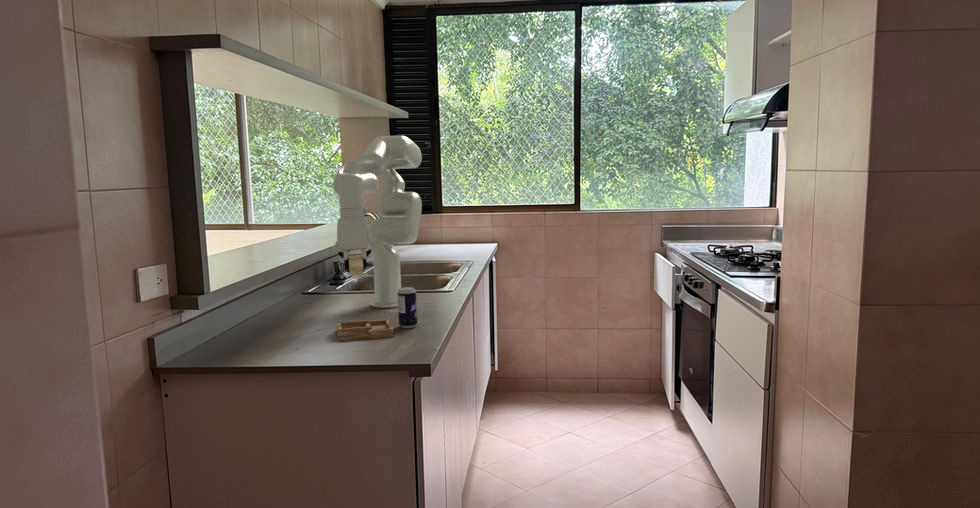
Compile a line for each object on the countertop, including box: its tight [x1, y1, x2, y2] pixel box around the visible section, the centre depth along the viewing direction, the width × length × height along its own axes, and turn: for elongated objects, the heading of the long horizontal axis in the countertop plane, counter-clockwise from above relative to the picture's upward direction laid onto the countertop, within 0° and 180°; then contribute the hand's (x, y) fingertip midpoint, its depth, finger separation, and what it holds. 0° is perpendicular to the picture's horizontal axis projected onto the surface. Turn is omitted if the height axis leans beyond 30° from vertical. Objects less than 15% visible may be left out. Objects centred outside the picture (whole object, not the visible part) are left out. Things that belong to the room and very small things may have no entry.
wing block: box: [348, 251, 365, 277], centre depth 205 cm, size 10×4×6 cm, turn 16°
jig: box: [336, 318, 395, 343], centre depth 194 cm, size 14×16×3 cm
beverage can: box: [397, 286, 418, 329], centre depth 201 cm, size 6×6×12 cm
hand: (355, 270), depth 205 cm, fingers closed on wing block, 4 cm apart
